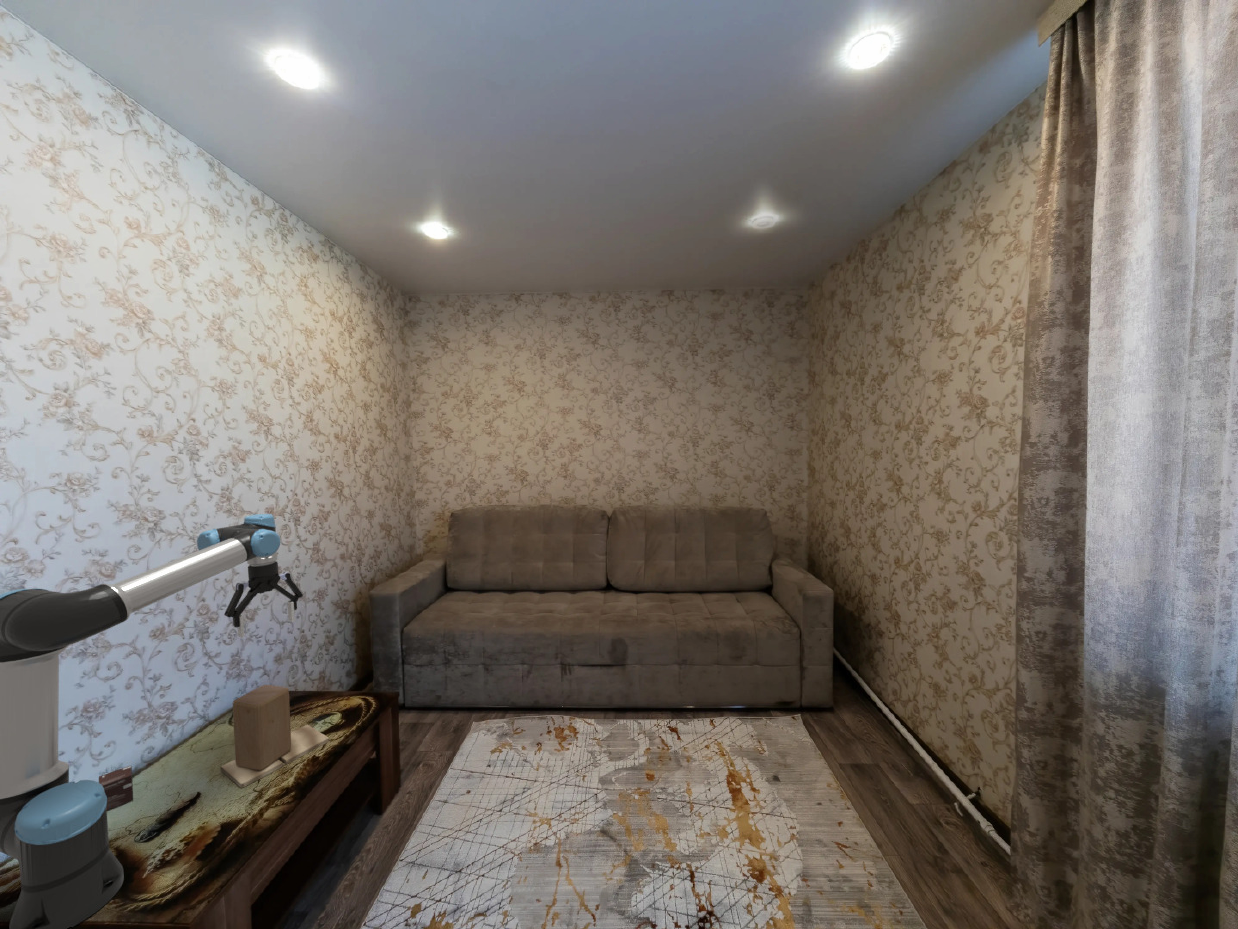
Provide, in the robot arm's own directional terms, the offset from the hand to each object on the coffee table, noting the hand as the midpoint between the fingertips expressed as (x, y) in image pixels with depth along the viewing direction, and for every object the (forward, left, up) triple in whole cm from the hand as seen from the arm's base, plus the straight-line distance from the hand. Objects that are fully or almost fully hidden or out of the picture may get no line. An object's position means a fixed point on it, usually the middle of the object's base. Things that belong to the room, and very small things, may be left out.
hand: (267, 628), depth 146 cm
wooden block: (-6, -10, -36) cm, 38 cm away
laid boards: (+3, -10, -37) cm, 38 cm away
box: (-33, +7, -37) cm, 50 cm away
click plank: (-10, -10, -37) cm, 39 cm away
